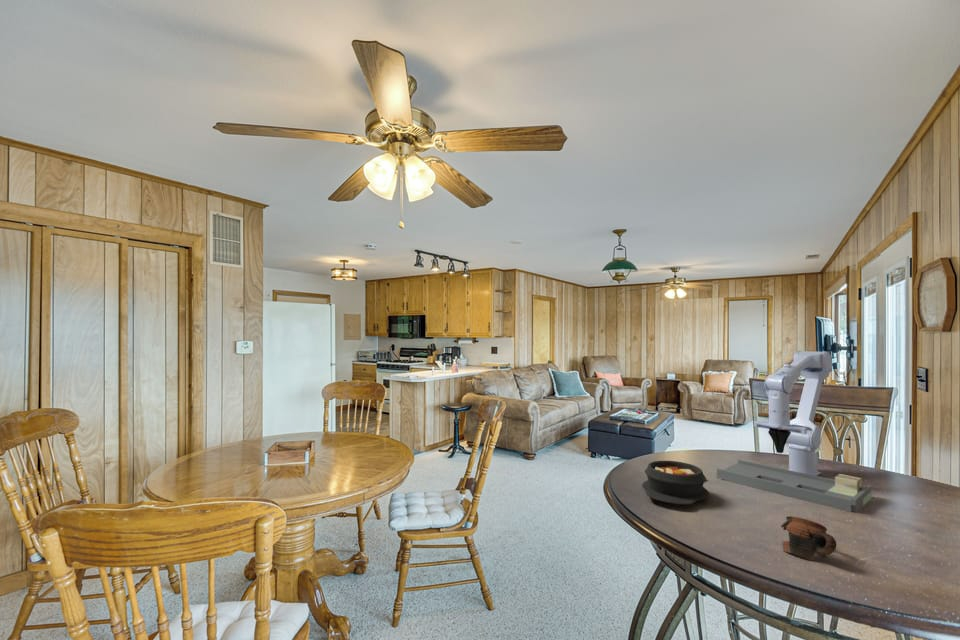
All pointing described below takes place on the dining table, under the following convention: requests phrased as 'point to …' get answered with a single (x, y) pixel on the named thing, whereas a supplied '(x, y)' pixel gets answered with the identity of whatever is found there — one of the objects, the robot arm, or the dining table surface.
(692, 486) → the casserole
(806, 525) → the pottery mug
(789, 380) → the robot arm
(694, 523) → the dining table surface
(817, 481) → the board
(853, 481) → the birch block
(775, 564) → the dining table surface
